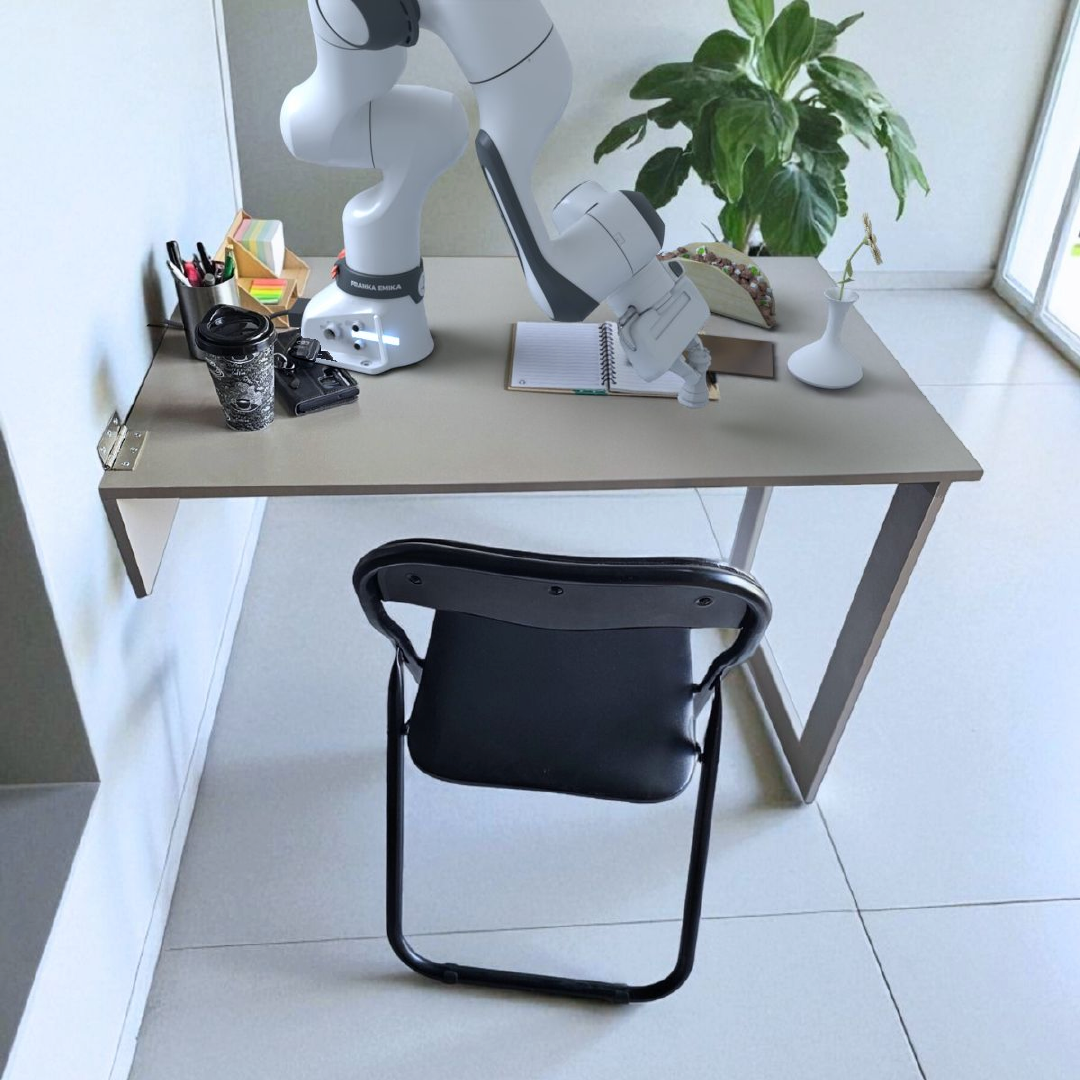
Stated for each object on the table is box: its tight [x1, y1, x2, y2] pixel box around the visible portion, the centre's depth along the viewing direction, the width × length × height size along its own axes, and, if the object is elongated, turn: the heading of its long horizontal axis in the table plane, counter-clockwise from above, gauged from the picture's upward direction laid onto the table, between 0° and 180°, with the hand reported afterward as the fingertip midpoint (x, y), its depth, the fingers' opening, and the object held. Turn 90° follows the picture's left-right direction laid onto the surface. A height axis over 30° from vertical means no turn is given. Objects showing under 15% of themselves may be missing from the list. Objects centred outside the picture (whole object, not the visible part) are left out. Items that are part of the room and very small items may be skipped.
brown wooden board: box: [629, 333, 774, 380], centre depth 166 cm, size 22×12×1 cm, turn 81°
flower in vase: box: [786, 211, 884, 390], centre depth 154 cm, size 13×11×25 cm
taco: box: [656, 241, 777, 329], centre depth 177 cm, size 10×27×10 cm, turn 57°
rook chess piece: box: [677, 347, 711, 410], centre depth 144 cm, size 4×4×8 cm
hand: (701, 375), depth 143 cm, fingers closed on rook chess piece, 3 cm apart
